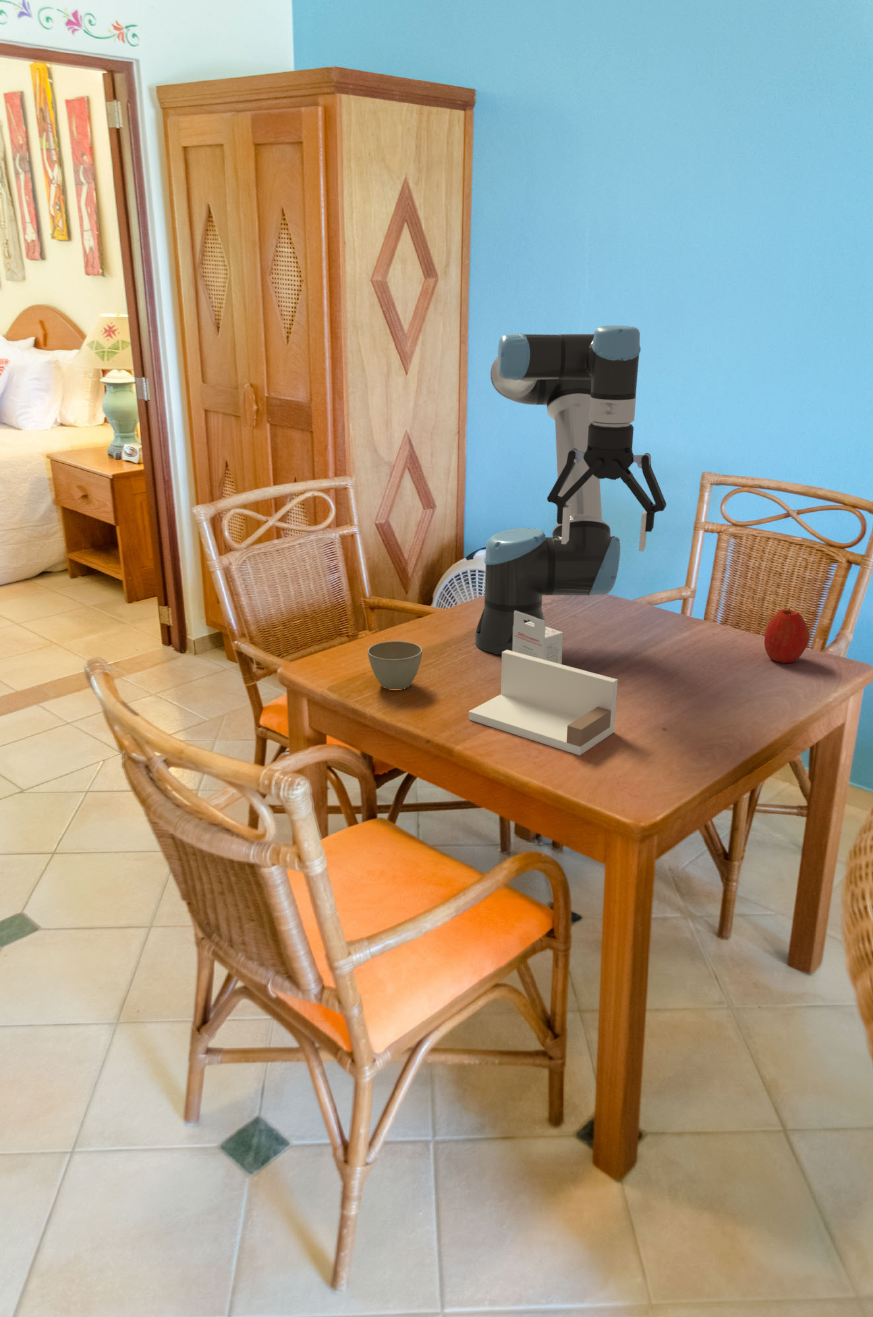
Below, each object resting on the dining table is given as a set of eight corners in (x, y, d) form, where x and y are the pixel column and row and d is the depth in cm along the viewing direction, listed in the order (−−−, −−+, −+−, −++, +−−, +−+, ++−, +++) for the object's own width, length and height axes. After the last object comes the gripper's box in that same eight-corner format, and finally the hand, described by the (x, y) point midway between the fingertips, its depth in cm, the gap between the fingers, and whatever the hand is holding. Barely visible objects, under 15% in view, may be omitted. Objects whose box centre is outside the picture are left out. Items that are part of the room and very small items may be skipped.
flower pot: (431, 680, 190) (431, 644, 188) (407, 700, 182) (407, 662, 179) (384, 672, 194) (383, 637, 191) (358, 691, 186) (357, 654, 183)
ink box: (561, 692, 185) (565, 615, 180) (542, 699, 182) (545, 621, 177) (529, 678, 191) (532, 604, 186) (509, 685, 188) (512, 609, 183)
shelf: (468, 719, 174) (469, 667, 171) (505, 699, 182) (506, 649, 179) (579, 755, 161) (582, 700, 158) (613, 732, 169) (617, 679, 166)
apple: (811, 658, 201) (818, 607, 197) (795, 670, 195) (802, 617, 191) (771, 649, 206) (777, 598, 202) (754, 660, 200) (760, 608, 196)
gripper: (533, 422, 171) (528, 544, 179) (684, 431, 163) (672, 558, 171) (543, 415, 177) (539, 534, 185) (689, 423, 170) (678, 546, 178)
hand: (603, 545), depth 178 cm, fingers open, 13 cm apart
